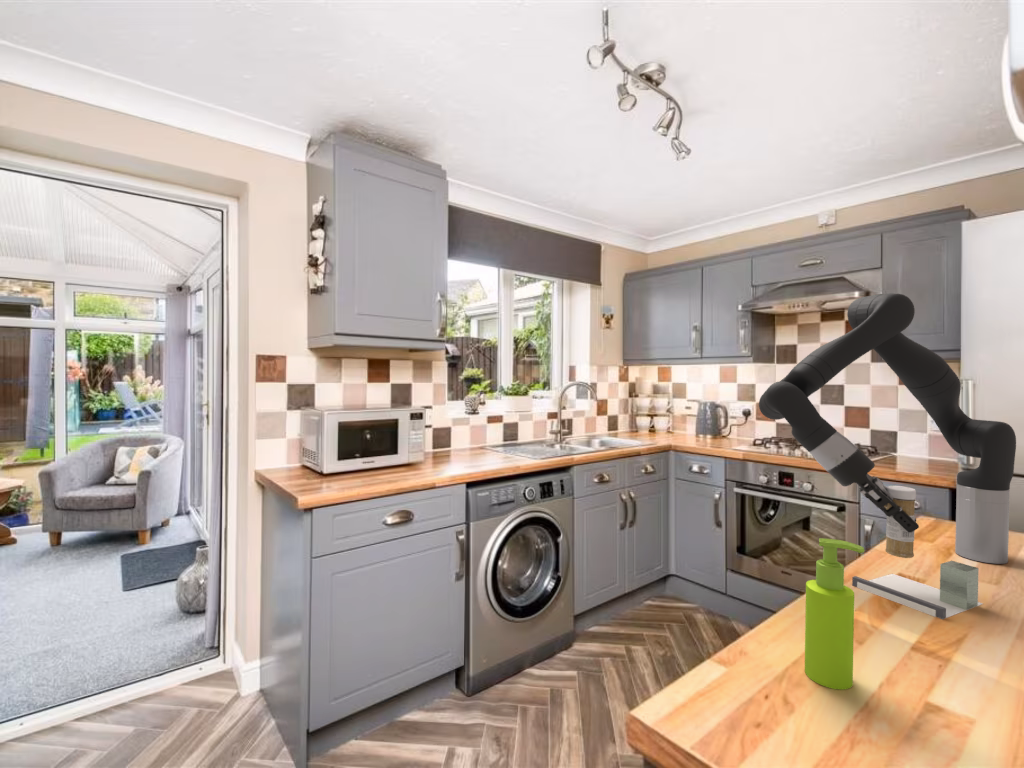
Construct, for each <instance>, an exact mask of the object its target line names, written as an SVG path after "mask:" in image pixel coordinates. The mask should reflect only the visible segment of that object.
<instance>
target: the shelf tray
mask: <svg viewBox="0 0 1024 768" xmlns="http://www.w3.org/2000/svg"><path fill="white" fill-rule="evenodd" d="M851 577H852V579H851V580H852V582H851V583H852V584H851V586H853V587H855V588H857V589H860V590H863V591H865V592H867V593H871V594H873V595H876V596H879V597H881V598H884V599H887V600H889V601H892V602H893V603H896V604H897V603H898V604H900V605H903V606H906V607H908V608H911V609H913V610H916V611H919V612H921V613H923V614H926V615H929V616H932V617H934V618H938V619H941V620H945V619H947V618H950V617H952V616H955V615H958V614H961V613H964V612H966V611H968V610H971V609H973V608H975V607H973V608H970V609H968V610H965V609H962V608H959V607H956V606H954V605H951V604H948V603H945V602H942V601H940V588H936V587H934V586H931V585H929V584H925V583H922V582H919V581H916V580H913V579H910V578H907V577H904V576H901V575H897V574H894V573H890V574H886V575H882V576H879V577H876V578H873V579H869V580H868V579H865V578H863V577H860V576H857V575H854V576H851ZM982 605H984V603H982V602H980V601H978V606H977V607H979V606H982Z"/></svg>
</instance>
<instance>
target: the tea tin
mask: <svg viewBox="0 0 1024 768" xmlns="http://www.w3.org/2000/svg"><path fill="white" fill-rule="evenodd" d="M939 565H940V569H939V570H940V572H939V574H940V575H939V589H940V601H942V602H945V603H948V604H951V605H954V606H956V607H959V608H962V609H965V610H966V611H968V609H969V610H971V609H973V607H974V608H976V607H979V606H978V602H979V570H980V569H979V567H975V566H972V565H969V564H965V563H961V562H959V561H958V562H957V561H954V560H950V561H945V562H943V563H940V564H939ZM970 608H971V609H970Z"/></svg>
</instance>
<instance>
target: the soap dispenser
mask: <svg viewBox="0 0 1024 768" xmlns="http://www.w3.org/2000/svg"><path fill="white" fill-rule="evenodd" d="M818 545H819V547H823V550H822V558H820V559H818V560H817V559H816V563H815V564H816V565H815V566H816V567H815V568H816V569H815V572H816V573H815V579H810V580H807V581H806V582H805V613H804V614H805V616H804V617H805V621H804V622H805V624H804V627H805V628H804V630H805V631H804V639H805V640H804V673H805V675H806V676H807V677H808V678H809V679H810V680H812V681H813V682H815V683H816V684H818V685H821V686H823V687H825V688H829V689H834V690H838V691H839V690H840V691H841V690H848V689H851V688H852V687H853V683H854V682H853V681H854V680H853V679H854V674H853V673H854V635H855V634H854V632H855V631H854V627H855V592H854V591H853V589H852V588H850V587H849V586H847V585H845V566H844V564H843V563H841V562H839V561H838V549H843V550H849V551H853V552H855V553H859V554H863V553H864V552H865V549H864V548H865V547H864V546H861V545H859V544H856V543H853V542H850V541H846V540H840V539H835V538H833V539H832V538H821V537H819V538H818Z"/></svg>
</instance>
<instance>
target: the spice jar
mask: <svg viewBox="0 0 1024 768" xmlns="http://www.w3.org/2000/svg"><path fill="white" fill-rule="evenodd" d="M886 487H887V491H888V492H889V493H890V494H891V495H892V496H893V497H894V502H895V503H896V504H898V505H899V506H900V507H901V508H902V509H903V511H904V512H905V513H906V514H907V515H908V516H910V517H911V518H912V519H913V520H914V521H915V518H916V514H915V510H916V509H915V502H916V500H917V491H916V489H915V488H912V487H909V486H903V485H902V486H901V485H888V486H886ZM891 507H892V505H891V504H889V503H888V504H887V509H889V508H891ZM885 526H886V527H885V528H886V529H885V535H886V536H885V538H886V540H885V542H886V543H885V549H884V550H885V552H886V553H887V554H889V555H891V556H893V557H897V558H904V559H911V558H914V556H915V554H914V542H915V531H913V532H907V531H906V530H905V529H904V528H903V527H902V526H901V525H900V524H899V523H898V522H897V521H896V520H895V519H894V518H893V517H892V518H891V517H889V516H887V515H886V523H885Z"/></svg>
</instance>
